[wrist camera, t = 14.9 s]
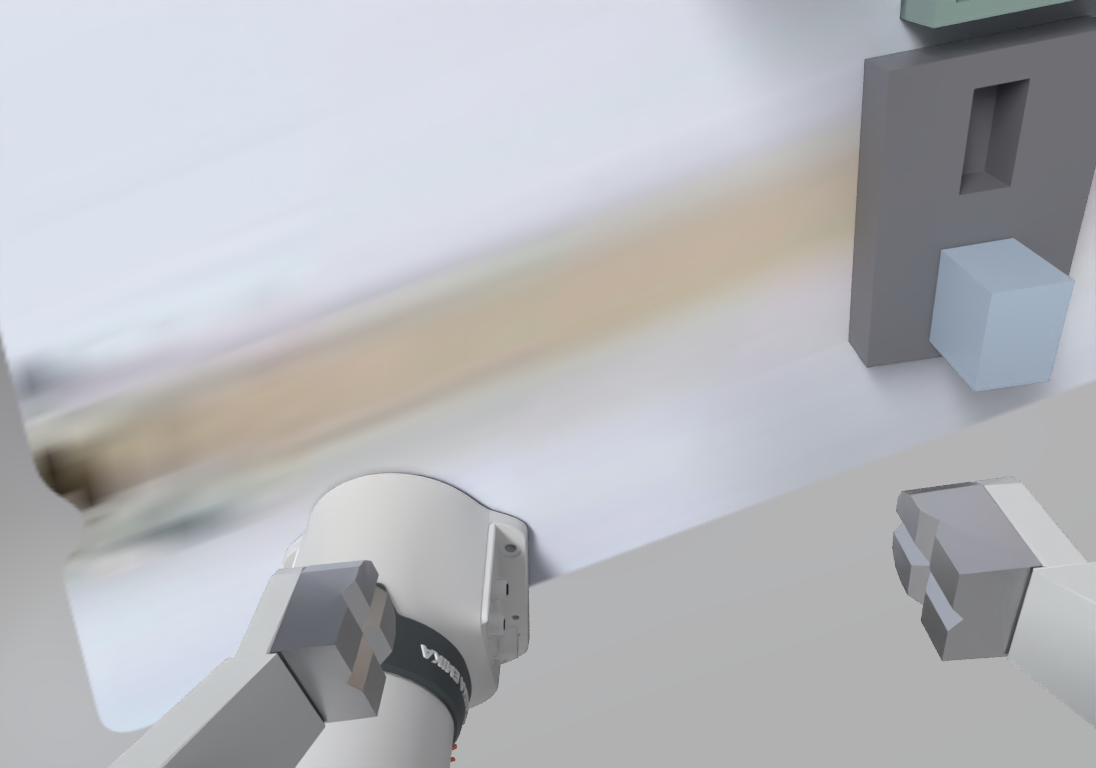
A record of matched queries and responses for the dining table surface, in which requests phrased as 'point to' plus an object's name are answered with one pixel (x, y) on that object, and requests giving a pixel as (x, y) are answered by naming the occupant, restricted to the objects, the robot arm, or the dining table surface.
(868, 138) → the fuse block
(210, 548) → the dining table surface
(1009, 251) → the block
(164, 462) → the dining table surface
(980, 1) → the parts tray
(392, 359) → the dining table surface
